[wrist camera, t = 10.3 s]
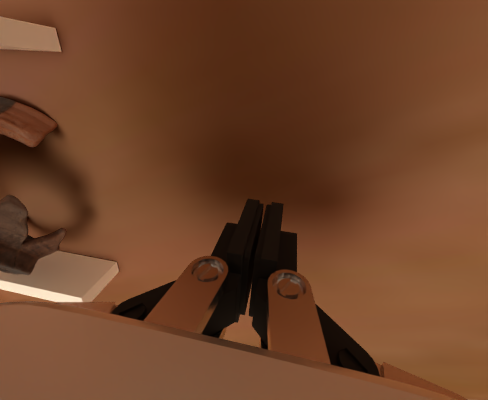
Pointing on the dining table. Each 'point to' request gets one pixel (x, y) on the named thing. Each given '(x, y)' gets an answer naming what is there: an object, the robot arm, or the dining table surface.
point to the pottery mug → (10, 208)
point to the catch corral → (58, 263)
